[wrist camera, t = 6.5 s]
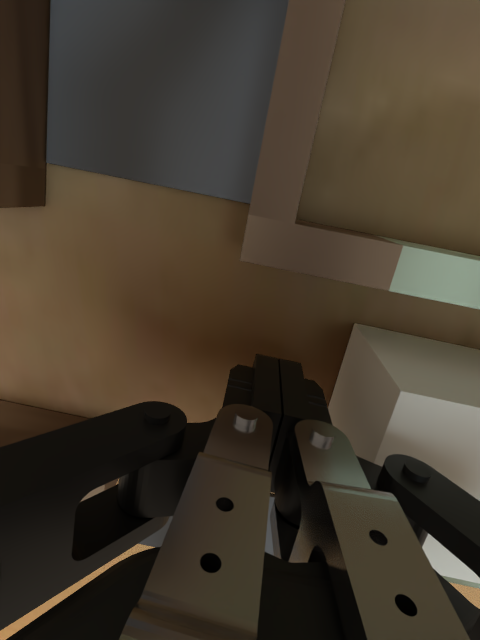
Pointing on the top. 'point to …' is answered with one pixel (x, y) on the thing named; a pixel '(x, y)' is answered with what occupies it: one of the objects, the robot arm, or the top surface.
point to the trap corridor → (194, 135)
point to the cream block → (413, 412)
